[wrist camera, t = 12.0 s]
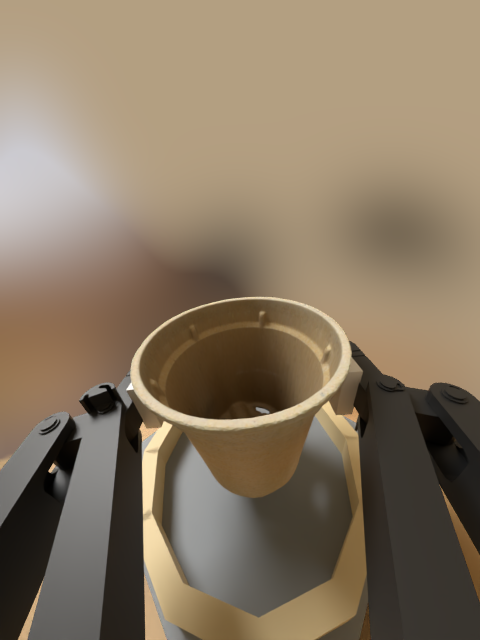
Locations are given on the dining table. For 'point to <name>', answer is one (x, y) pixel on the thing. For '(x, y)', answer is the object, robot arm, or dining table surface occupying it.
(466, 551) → the dining table surface
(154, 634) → the dining table surface
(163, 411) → the flower pot
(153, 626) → the dining table surface
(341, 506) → the collar plate
